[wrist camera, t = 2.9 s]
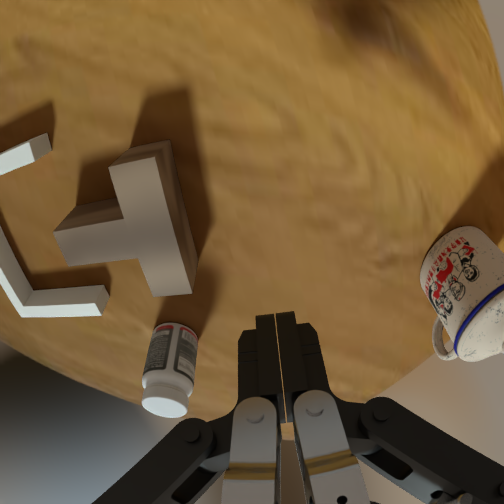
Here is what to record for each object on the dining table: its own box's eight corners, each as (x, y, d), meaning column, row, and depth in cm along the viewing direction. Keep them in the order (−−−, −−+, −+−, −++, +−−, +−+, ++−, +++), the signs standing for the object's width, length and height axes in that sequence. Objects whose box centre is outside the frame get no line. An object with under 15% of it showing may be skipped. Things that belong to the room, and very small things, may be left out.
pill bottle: (152, 346, 31) (137, 413, 24) (153, 316, 29) (135, 390, 22) (195, 354, 32) (188, 423, 25) (201, 326, 30) (193, 401, 23)
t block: (62, 166, 20) (35, 187, 17) (169, 139, 20) (154, 157, 16) (102, 270, 26) (86, 301, 22) (198, 260, 25) (192, 293, 22)
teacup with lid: (444, 211, 23) (524, 302, 13) (499, 232, 24) (566, 308, 15) (387, 313, 30) (427, 410, 20) (446, 318, 31) (487, 398, 21)
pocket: (-31, 169, 19) (-48, 180, 17) (47, 132, 18) (29, 142, 16) (30, 301, 28) (21, 317, 26) (109, 296, 27) (101, 315, 25)
